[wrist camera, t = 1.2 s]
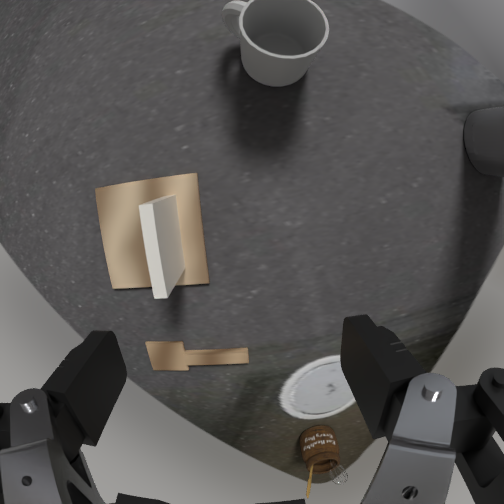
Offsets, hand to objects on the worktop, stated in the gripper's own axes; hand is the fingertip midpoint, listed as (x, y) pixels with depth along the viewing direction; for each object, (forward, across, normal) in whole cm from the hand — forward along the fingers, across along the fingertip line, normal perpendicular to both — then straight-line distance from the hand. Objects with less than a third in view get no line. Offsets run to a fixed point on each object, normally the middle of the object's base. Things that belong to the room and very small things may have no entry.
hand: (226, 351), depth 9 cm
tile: (+22, +7, 0) cm, 23 cm away
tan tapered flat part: (+23, +6, +16) cm, 29 cm away
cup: (+23, -4, -19) cm, 30 cm away
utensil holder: (+23, -10, +35) cm, 43 cm away
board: (+23, +10, 0) cm, 25 cm away
